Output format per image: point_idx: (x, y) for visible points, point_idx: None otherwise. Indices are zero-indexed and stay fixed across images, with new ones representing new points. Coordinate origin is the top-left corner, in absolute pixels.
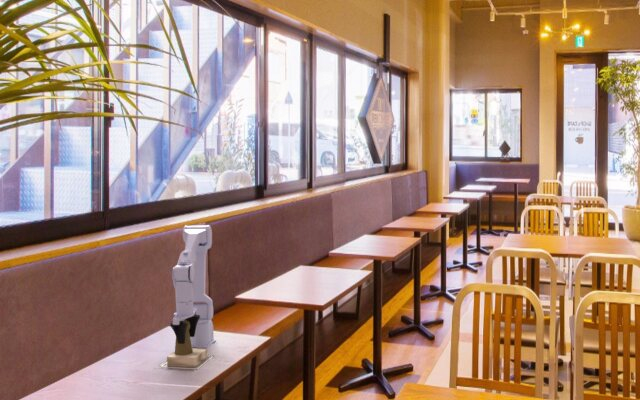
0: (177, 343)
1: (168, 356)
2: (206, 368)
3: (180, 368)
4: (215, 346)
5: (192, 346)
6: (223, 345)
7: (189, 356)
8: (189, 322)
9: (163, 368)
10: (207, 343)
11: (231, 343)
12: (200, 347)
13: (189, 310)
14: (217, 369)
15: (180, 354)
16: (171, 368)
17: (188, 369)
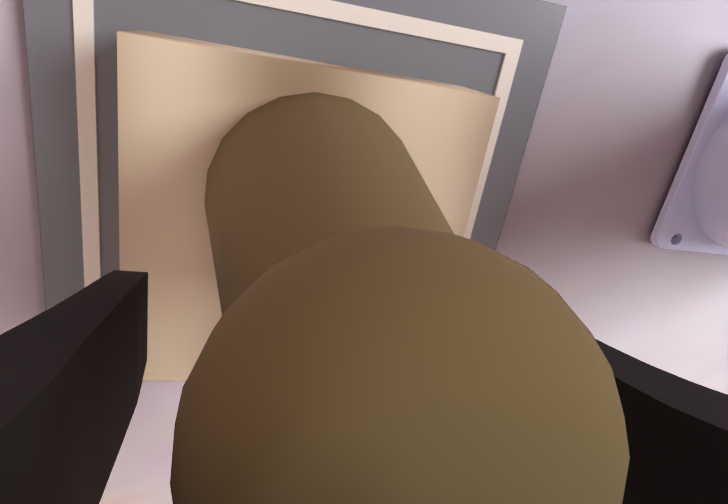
0: (229, 203)
1: (138, 51)
2: (164, 402)
3: (78, 211)
4: (682, 292)
5: (707, 120)
6: (688, 338)
7: (181, 309)
8: (624, 497)
9: (31, 13)
10: (721, 244)
11: (714, 374)
12: (670, 197)
13: None
14: (155, 477)
15: (206, 202)
16: (56, 113)
17: (68, 295)
